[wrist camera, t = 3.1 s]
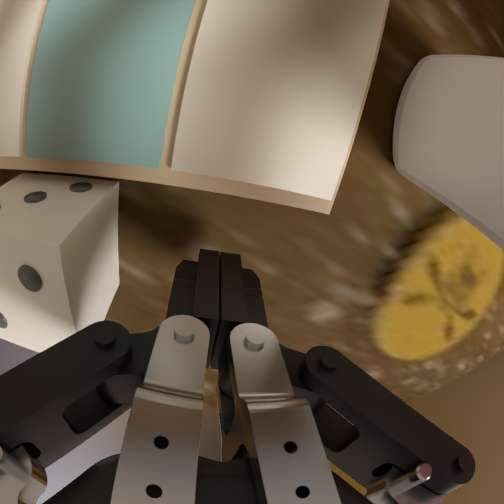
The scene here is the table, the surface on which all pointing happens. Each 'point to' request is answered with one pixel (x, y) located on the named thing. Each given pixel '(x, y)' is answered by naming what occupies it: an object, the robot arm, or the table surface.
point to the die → (56, 256)
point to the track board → (189, 91)
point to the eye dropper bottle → (455, 136)
